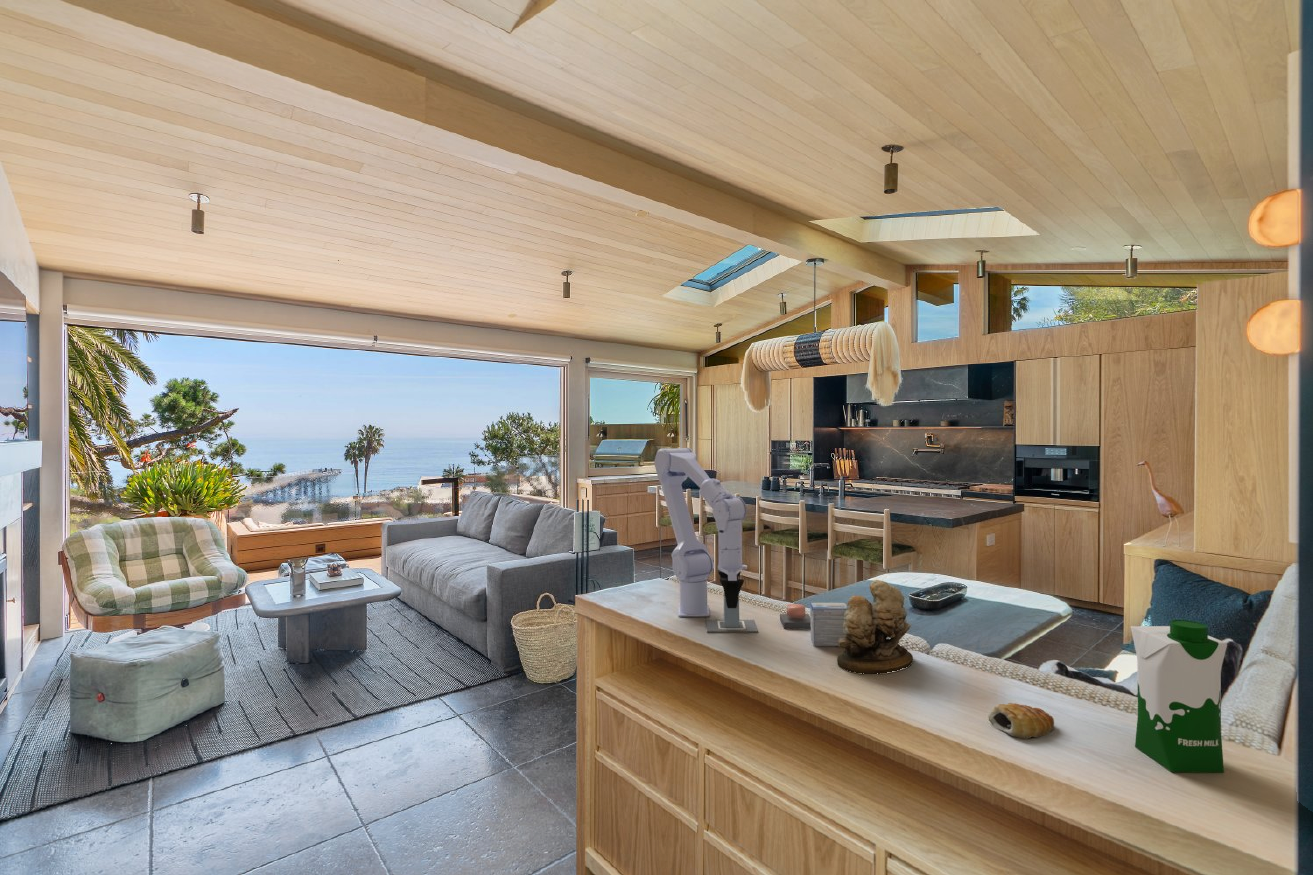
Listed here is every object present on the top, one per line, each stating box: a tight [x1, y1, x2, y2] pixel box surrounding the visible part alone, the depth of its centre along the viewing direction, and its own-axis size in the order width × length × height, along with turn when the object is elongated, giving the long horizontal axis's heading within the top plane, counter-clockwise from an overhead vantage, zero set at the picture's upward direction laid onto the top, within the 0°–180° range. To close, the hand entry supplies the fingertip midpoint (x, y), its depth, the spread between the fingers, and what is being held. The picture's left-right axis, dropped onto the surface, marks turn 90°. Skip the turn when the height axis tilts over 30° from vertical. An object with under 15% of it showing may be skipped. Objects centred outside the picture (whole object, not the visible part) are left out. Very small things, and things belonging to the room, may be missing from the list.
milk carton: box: [1130, 619, 1228, 774], centre depth 90 cm, size 9×9×20 cm
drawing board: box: [705, 619, 759, 634], centre depth 154 cm, size 9×12×1 cm
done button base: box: [779, 613, 811, 630], centre depth 155 cm, size 7×7×2 cm
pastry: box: [987, 702, 1055, 739], centre depth 100 cm, size 9×7×4 cm
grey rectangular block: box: [723, 594, 740, 627], centre depth 154 cm, size 4×4×8 cm
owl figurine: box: [836, 579, 914, 675], centre depth 129 cm, size 18×12×17 cm, turn 120°
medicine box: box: [809, 602, 847, 647], centre depth 141 cm, size 8×4×9 cm, turn 84°
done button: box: [786, 603, 806, 618], centre depth 155 cm, size 4×4×2 cm
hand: (730, 603), depth 154 cm, fingers open, 7 cm apart
